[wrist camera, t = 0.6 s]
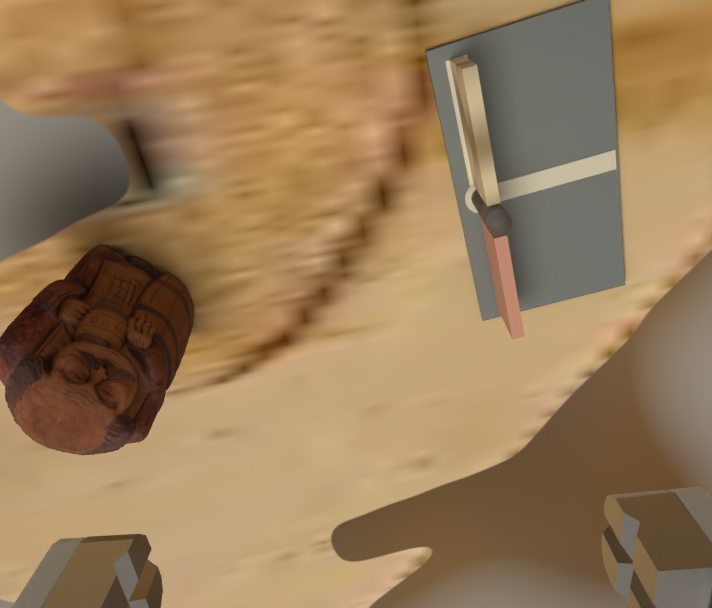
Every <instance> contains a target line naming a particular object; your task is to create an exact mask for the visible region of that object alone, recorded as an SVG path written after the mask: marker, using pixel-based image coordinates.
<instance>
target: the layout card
mask: <svg viewBox="0 0 712 608" xmlns="http://www.w3.org/2000/svg"><path fill="white" fill-rule="evenodd" d="M425 53H426V57H427V62H428V67H429V72H430V76H431V81H432V86H433V90H434V95H435V100H436V104H437V109H438V114H439V119H440V123H441V128H442V133H443V137H444V142H445V147H446V152H447V156H448V161H449V166H450V170H451V175H452V180H453V184H454V189H455V194H456V199H457V203H458V208H459V213H460V217H461V222H462V227H463V231H464V236H465V241H466V246H467V250H468V255H469V260H470V264H471V269H472V274H473V278H474V283H475V288H476V293H477V297H478V302H479V307H480V311H481V316H482V320H483V321H485V320H489V319H493V318H497V317H501V314H500V312H499V310H498V306H497V301H496V296H495V290H494V285H493V280H492V275H491V270H490V265H489V259H488V254H487V249H486V244H485V239H484V234H483V228H482V223H481V218H480V215H479V213H478V212H477V210H476V208H475V206H474V205H473V203H472V200H471V197H472V194H473V192H474V191H475V190H476V188H475V187H474V184H473V179H472V174H471V169H470V164H469V159H468V154H467V148H466V143H465V138H464V133H463V128H462V123H461V117H460V112H459V107H458V102H457V97H456V92H455V86H454V81H453V76H452V71H451V66H450V61H449V60H451V59H454V58H458V57H460V56H464V57H466V58H467V59H469V60H470V61H472V62H474V63H475V64H477V68H478V74H479V80H480V85H481V91H482V97H483V103H484V109H485V115H486V120H487V126H488V132H489V138H490V144H491V150H492V155H493V161H494V167H495V173H496V179H497V185H498V191H499V196H500V202H501V205H502V206H503V207H504V209H505V210H506V212H507V213H508V215H509V216H510V217H511V219H512V226H511V229H510V230H509V231H508V232H507V233H506V234H507V237H508V243H509V249H510V255H511V261H512V267H513V273H514V279H515V284H516V290H517V296H518V302H519V308H520V312H521V311H525V310H528V309H532V308H536V307H540V306H544V305H548V304H552V303H556V302H560V301H564V300H568V299H572V298H576V297H580V296H584V295H588V294H592V293H595V292H599V291H603V290H607V289H611V288H615V287H619V286H623V285H625V274H624V256H623V239H622V221H621V203H620V185H619V167H618V149H617V131H616V113H615V95H614V77H613V60H612V42H611V24H610V6H609V0H583V1H580V2H577V3H574V4H571V5H568V6H565V7H562V8H558V9H555V10H552V11H549V12H546V13H543V14H540V15H537V16H533V17H530V18H527V19H524V20H521V21H518V22H515V23H512V24H508V25H505V26H502V27H499V28H496V29H493V30H490V31H487V32H484V33H480V34H477V35H474V36H471V37H468V38H465V39H462V40H459V41H455V42H452V43H449V44H446V45H443V46H440V47H437V48H434V49H430V50H427V51H425Z"/></svg>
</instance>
